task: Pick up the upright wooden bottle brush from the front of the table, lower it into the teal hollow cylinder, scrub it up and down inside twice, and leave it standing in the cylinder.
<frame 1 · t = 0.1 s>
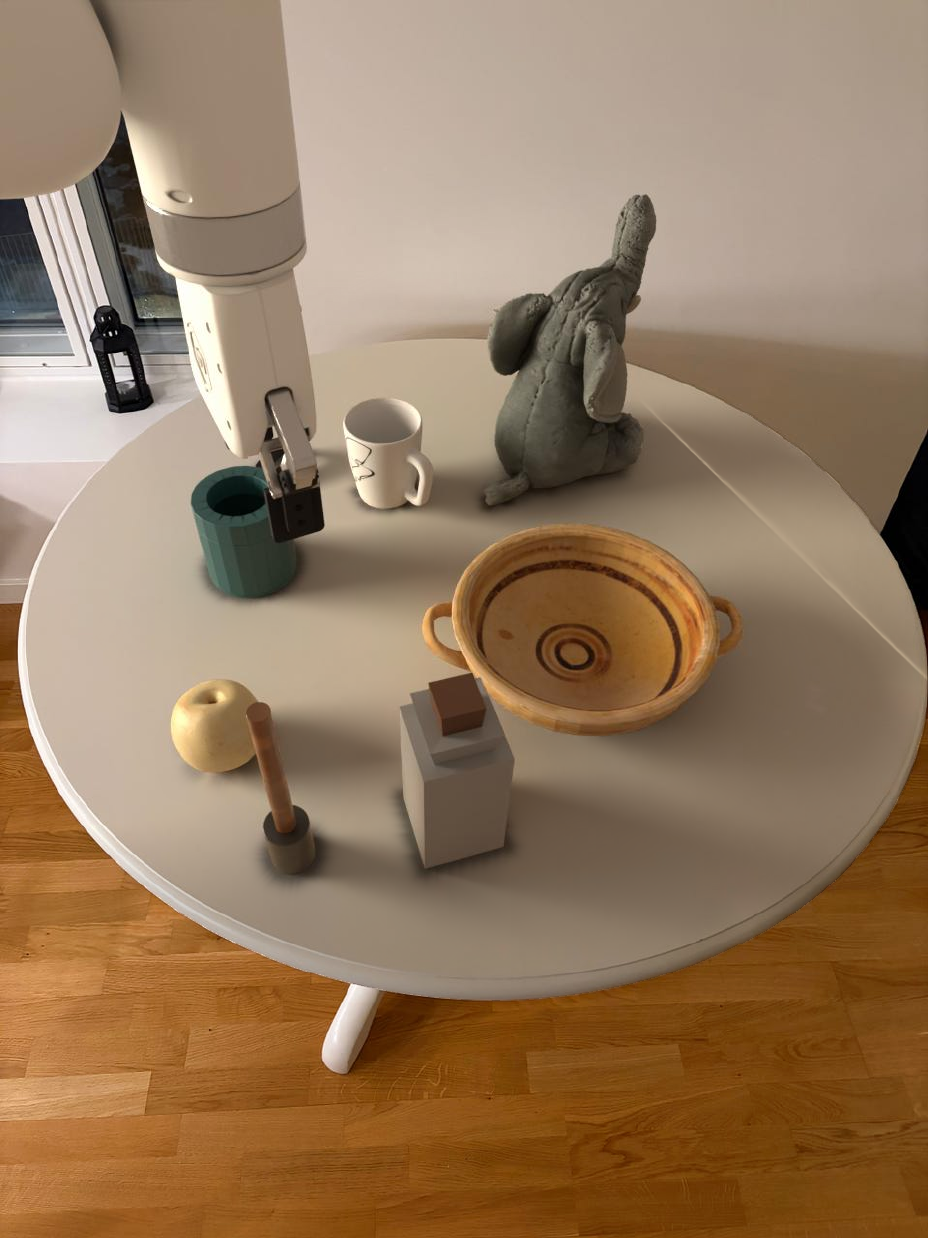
hand: (273, 486, 58), 30 cm above the table, tool pointing down, fingers open, 9 cm apart
ceramic bowl: (574, 668, 87), on the table
perfume bottle: (452, 824, 76), on the table
teal hollow cylinder: (253, 567, 95), on the table
stuffed elephant: (558, 456, 109), on the table
brush: (293, 854, 74), on the table
apple: (225, 747, 80), on the table
mug: (395, 499, 103), on the table
watch: (283, 471, 106), on the table
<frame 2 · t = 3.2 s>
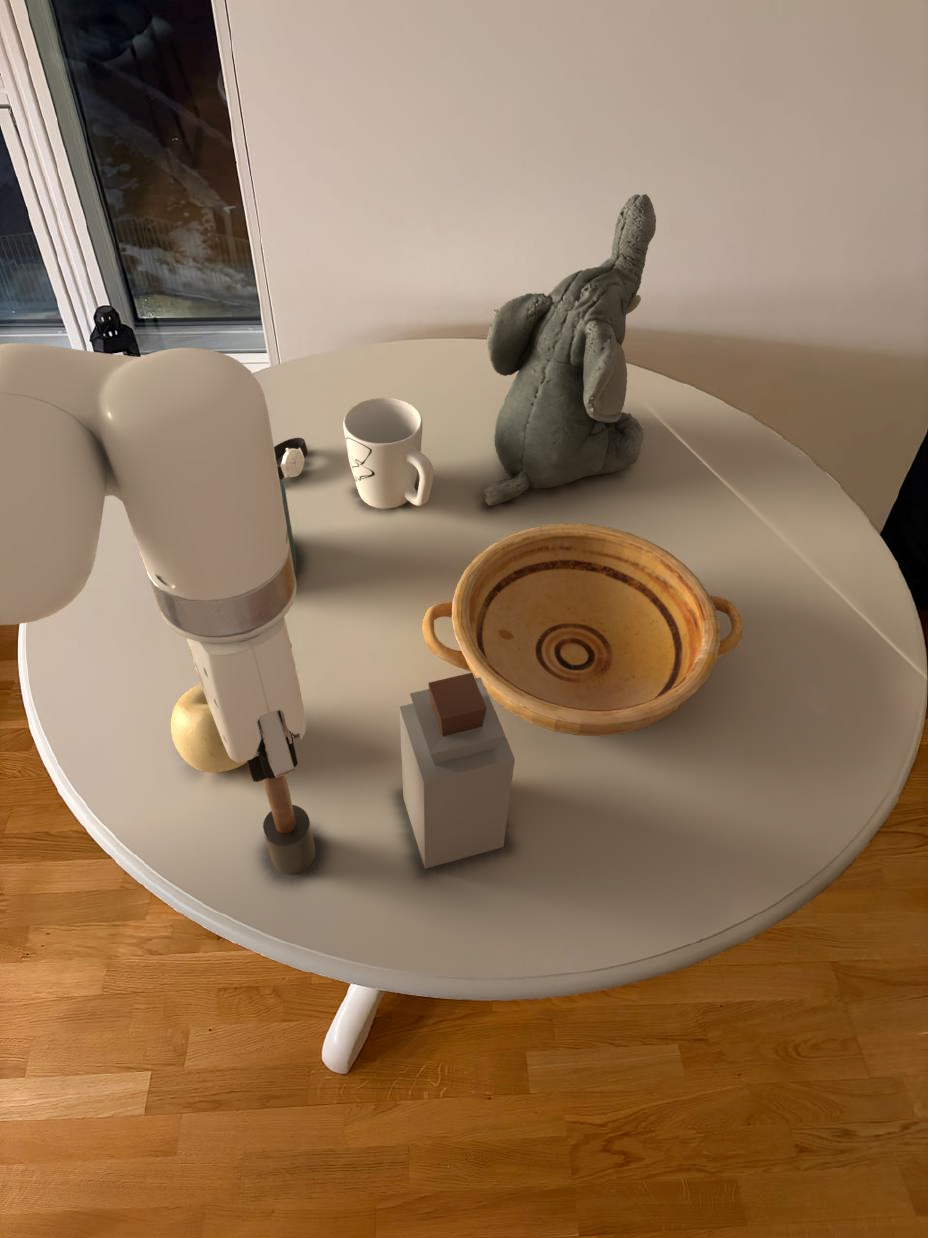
hand: (269, 757, 63), 15 cm above the table, tool pointing down, fingers closed on brush
brush: (293, 854, 74), on the table, touching gripper
everything else where it was.
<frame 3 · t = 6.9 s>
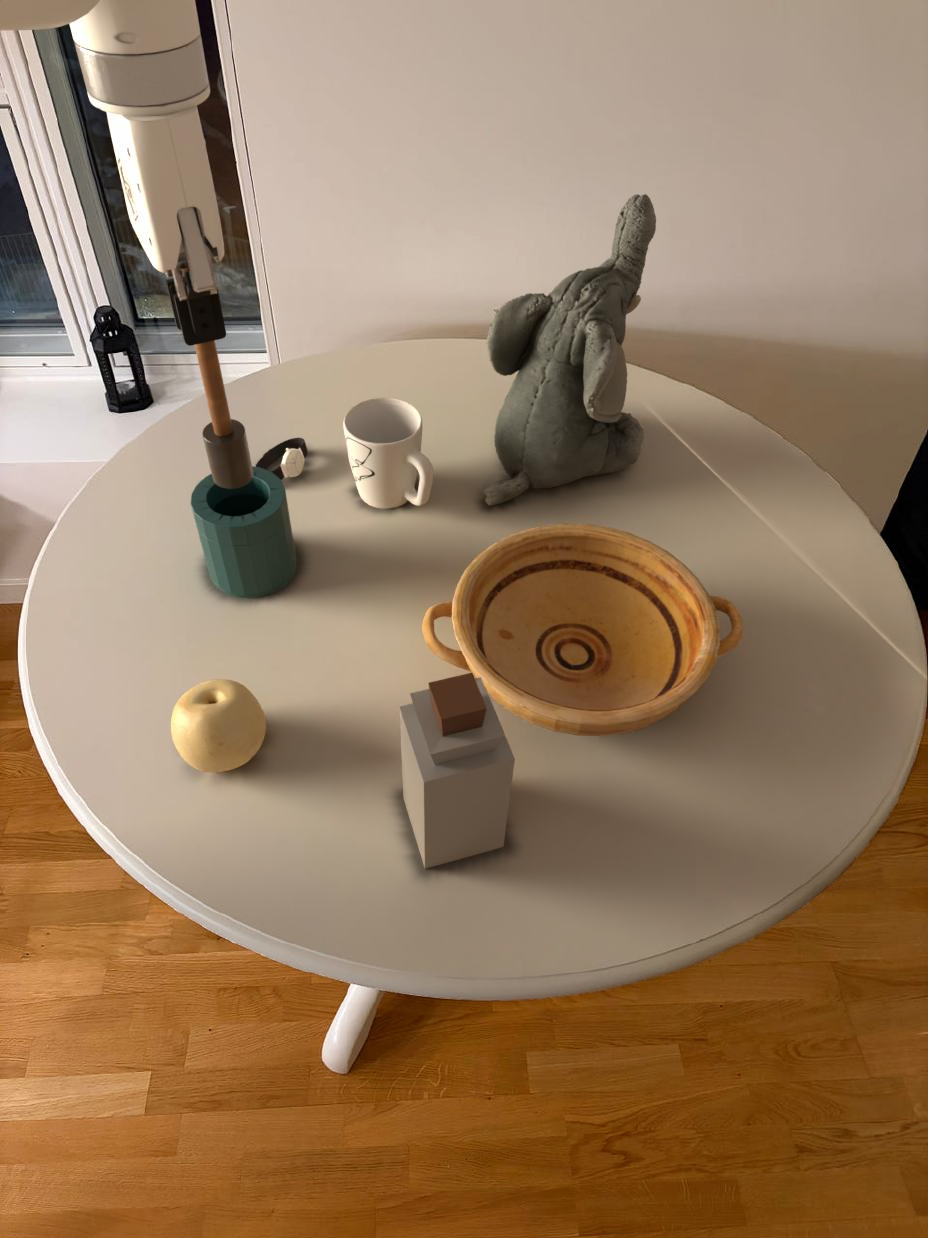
hand: (201, 331, 70), 30 cm above the table, tool pointing down, fingers closed on brush
brush: (233, 476, 81), point 15 cm above the table, touching gripper
everything else where it was.
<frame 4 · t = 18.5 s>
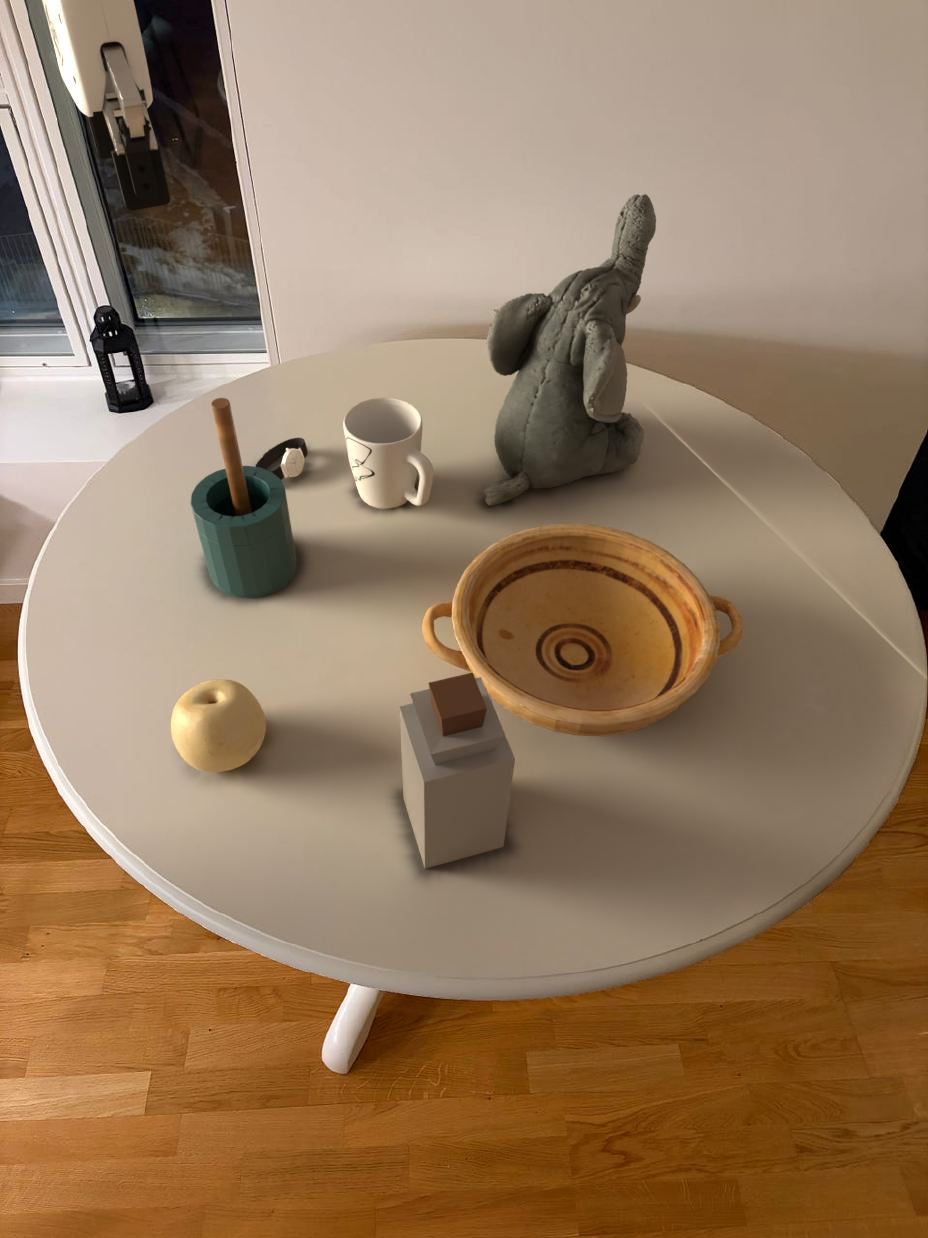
hand: (133, 179, 69), 38 cm above the table, tool pointing down, fingers open, 9 cm apart
brush: (253, 562, 95), point 1 cm above the table, touching teal hollow cylinder
everything else where it was.
at the end: brush 0.2 cm off-centre in the teal hollow cylinder, point 0.6 cm above the teal hollow cylinder's base; brush tilted 0°; the gripper is holding nothing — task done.
